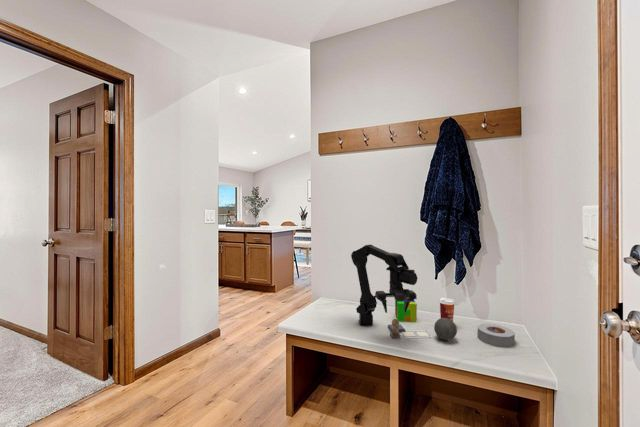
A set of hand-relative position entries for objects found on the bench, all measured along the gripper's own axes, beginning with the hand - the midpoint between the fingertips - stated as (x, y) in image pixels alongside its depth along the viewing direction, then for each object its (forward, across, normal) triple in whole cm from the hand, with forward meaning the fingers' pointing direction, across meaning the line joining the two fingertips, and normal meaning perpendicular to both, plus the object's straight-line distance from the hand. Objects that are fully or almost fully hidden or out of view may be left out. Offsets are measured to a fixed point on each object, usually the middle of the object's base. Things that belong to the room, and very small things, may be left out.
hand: (395, 312), depth 150 cm
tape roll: (+12, +47, -6) cm, 49 cm away
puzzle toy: (+12, +13, +23) cm, 29 cm away
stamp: (+12, 0, 0) cm, 12 cm away
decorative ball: (+12, +23, -4) cm, 26 cm away
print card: (+12, +11, +2) cm, 16 cm away
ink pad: (+12, +3, +8) cm, 15 cm away
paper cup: (+12, +31, +11) cm, 35 cm away
